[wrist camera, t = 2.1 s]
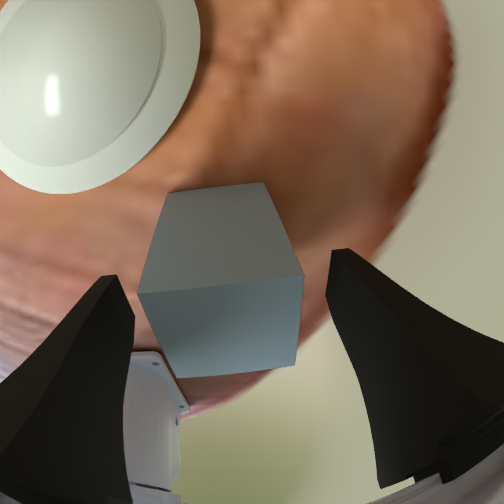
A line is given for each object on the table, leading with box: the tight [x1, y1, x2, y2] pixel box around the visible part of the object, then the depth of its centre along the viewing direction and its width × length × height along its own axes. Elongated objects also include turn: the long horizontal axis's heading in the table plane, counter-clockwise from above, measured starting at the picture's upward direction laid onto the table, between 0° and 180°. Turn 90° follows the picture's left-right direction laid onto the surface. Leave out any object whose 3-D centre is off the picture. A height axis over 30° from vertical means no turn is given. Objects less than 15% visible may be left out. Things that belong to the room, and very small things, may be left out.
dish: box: [0, 0, 200, 194], centre depth 7 cm, size 11×11×1 cm
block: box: [137, 182, 304, 378], centre depth 10 cm, size 4×4×6 cm
